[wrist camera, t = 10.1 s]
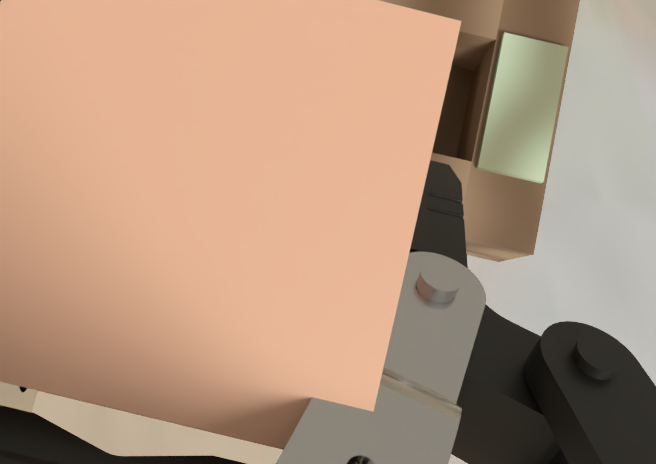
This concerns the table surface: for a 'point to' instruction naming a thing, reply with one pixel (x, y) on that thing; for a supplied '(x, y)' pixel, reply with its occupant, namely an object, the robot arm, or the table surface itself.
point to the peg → (211, 200)
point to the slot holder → (502, 113)
